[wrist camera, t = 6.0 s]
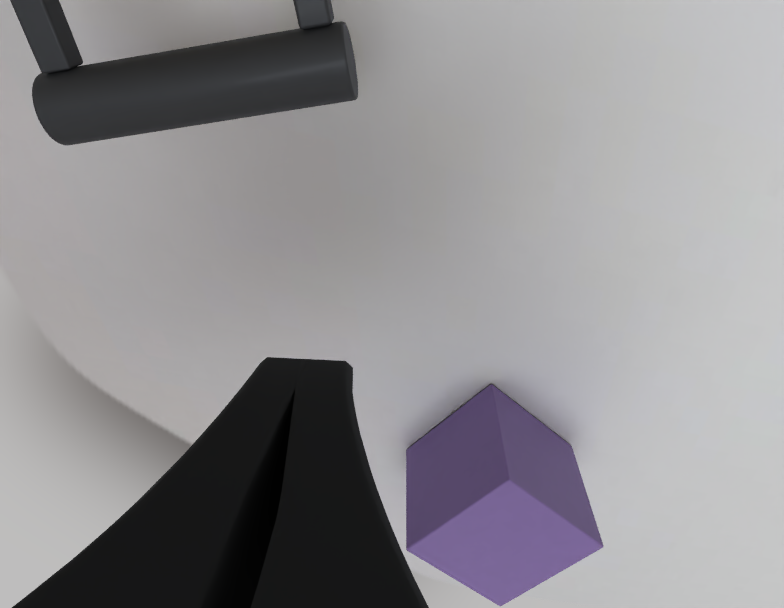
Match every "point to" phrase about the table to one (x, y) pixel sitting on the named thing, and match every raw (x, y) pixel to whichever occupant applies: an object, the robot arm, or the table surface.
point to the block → (497, 499)
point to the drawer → (185, 77)
